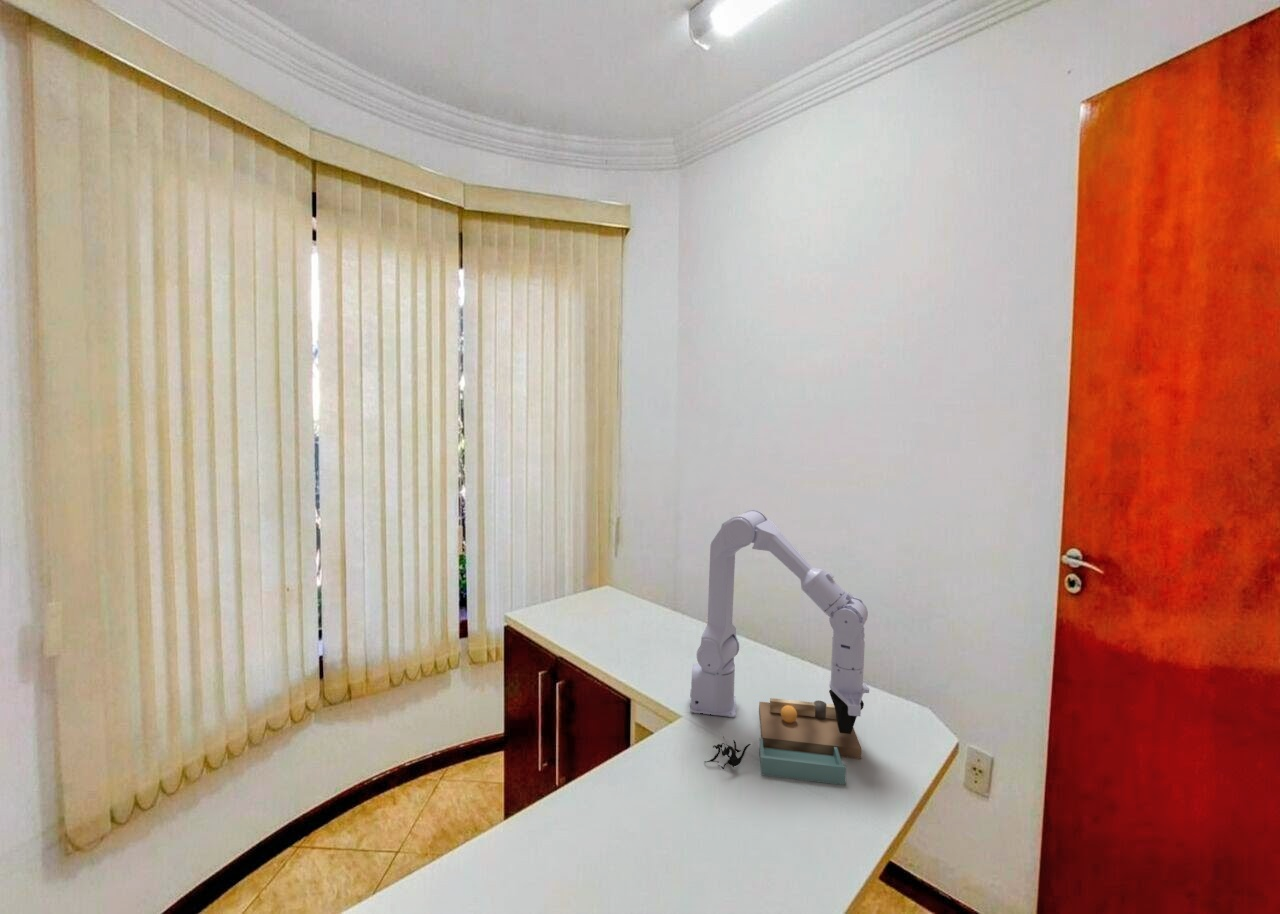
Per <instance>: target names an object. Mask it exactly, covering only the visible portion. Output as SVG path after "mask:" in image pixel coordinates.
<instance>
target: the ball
mask: <svg viewBox="0 0 1280 914" xmlns="http://www.w3.org/2000/svg"><path fill="white" fill-rule="evenodd" d="M781 717H782V719H783V720H784V721H785V722H788V723H792V722H794V721H795V720H796V718H797V712H796V710H795V708H794V707H792V706H790V705H786V706H784V707H783V708H782V709H781Z"/></svg>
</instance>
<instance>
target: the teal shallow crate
mask: <svg viewBox="0 0 1280 914" xmlns="http://www.w3.org/2000/svg"><path fill="white" fill-rule="evenodd" d="M758 741H759V742H758V744H759V745H758V751H759V752H758V753H759V762H760V763H759V764H760V775H761V776H768V777H775V778H777V777H778V778H783V779H784V778H785V779H793V780H801V781H807V782H808V781H809V782H816V783H826V784H830V785H831V784H832V785H833V784H834V785H839V786H841V785H842V786H846V775H847V774H846V773H847V766H846V765H844V764H843V762H842V759H841V758H842V757H840V755H839V751H838V748H837V747H834V754H833V755H826V754H817V753H809V752H800V751H792V750H783V749H774V748H766V747H763V739H761V737H759V739H758Z"/></svg>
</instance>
